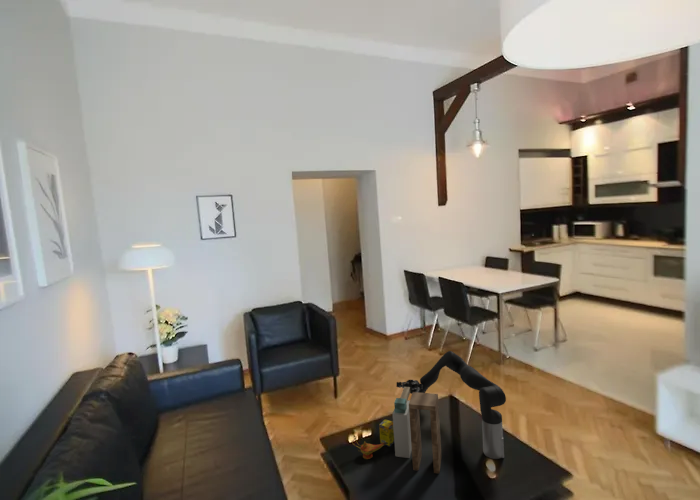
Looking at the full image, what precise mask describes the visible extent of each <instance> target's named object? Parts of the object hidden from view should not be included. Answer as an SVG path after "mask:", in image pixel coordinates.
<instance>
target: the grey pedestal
mask: <svg viewBox="0 0 700 500" xmlns="http://www.w3.org/2000/svg"><path fill="white" fill-rule="evenodd" d="M409 402H410V399H408V400H407V403H406V404H407V409H406V412H405V413H395V408H394V409H393V412H392V422H393V429H394V443H393V444H394V452H395V453H394V455H395V456H394V457H399V458H405V459H410V458H411V455H412V446H411V431H410V415H409Z"/></svg>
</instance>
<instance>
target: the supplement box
mask: <svg viewBox="0 0 700 500" xmlns="http://www.w3.org/2000/svg"><path fill="white" fill-rule="evenodd" d="M378 427H379V442H380V443H379V444H381V443H385V442H387V443H388V444H385V445H384V446H385V447H387V448H391V447H392V445H393V444H395V443H394V429H393V420H388V419H384V420H382V421H381V422H380V423H379V424H378Z"/></svg>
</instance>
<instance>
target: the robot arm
mask: <svg viewBox="0 0 700 500" xmlns="http://www.w3.org/2000/svg"><path fill="white" fill-rule="evenodd" d="M444 367H446V368H448V369H449V370H451V371H453V372H454V373H456V374H458V375H459V377H460V379H461V381H462V382H463V383H464V384H465V385H466V386H468V387H469V388H470V389H472V390H475V391H478V399H479V408H480V410H479V411H480V414H481V429H482V451H483V454H484V455H485V456H486V457H487V458H490V459H494V460H498V459H505V449H504V447H505V446H504V444H505V443H504V432H503V430H504V429H503V415H502V414H501V413H500V412H499V411H498V410H497V409H492V408H495V407H500V406H503V405H505V403H506V402H507V396H506V394H505V393H506V392H504V390H503V389H502V388H501V387H500V386H499V385H498V384H496V383H494V382H492V381H491V380H490V379H488V378H487V377H485V376H484V375H483V374H481V373H480V372H479V371H478V370H477V369H476V368H474V367H472V366H470V365H468V363H466V362H465V360H464V359H463V358H462V357H461V356H460V355H458V354H456V353H455V352H453V351H451V350H448V351H446V352H445V353H444V354H443V355H442V356H441V357H440V358H439V360H438V361H437V362H436V363H435V364H434V365H433V366H432V367H431V369H429V371H428V372H426V373H425V374H424V375H422V376H421V378H420V379H419V380H416V379H415V380H414V379H408V380H406V381H397V382H396V387H397V388H399V389H401V388H402V389H404V387H410V394H411V395H412V393H413V392H419V393H427V391H428V389H429V388H430V387H431V386H432V385H434V384H435V383H436V382H437V381H438V379H439V376H440V372H441V370H442V369H443V368H444Z"/></svg>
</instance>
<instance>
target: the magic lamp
mask: <svg viewBox="0 0 700 500" xmlns="http://www.w3.org/2000/svg"><path fill="white" fill-rule="evenodd" d="M352 438H353V440H352V442H351V443H352V445H353V446H354V447H357V448H358V449H359V451H360V453H362V458H363V459H364V460H370V459H372V458H373V453H374V452H376V451H378V450H380V449H381V448H382V447H383V446H385V444H388V443H387V442H385V443H381V444H380V443H379V444H373V443H367V442H366V441H364V442H363V443H362V444H359V443H358V441H357V436H356V435H355V434H353V436H352ZM354 441H355V442H356V444H357V445H356V444H355V443H354Z"/></svg>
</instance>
